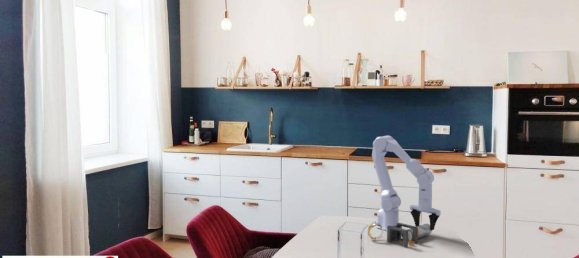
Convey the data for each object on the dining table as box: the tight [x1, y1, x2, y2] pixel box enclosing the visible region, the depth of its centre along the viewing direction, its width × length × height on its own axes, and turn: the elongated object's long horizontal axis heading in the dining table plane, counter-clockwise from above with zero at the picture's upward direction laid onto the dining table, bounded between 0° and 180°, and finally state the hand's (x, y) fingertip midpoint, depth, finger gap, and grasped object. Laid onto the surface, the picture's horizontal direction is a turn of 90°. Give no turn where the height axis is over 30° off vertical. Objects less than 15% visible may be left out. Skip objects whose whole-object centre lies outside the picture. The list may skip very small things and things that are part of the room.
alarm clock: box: [367, 221, 384, 241], centre depth 208 cm, size 7×3×8 cm, turn 91°
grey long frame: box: [402, 223, 433, 243], centre depth 211 cm, size 16×5×5 cm, turn 132°
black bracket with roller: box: [386, 222, 419, 248], centre depth 204 cm, size 10×8×7 cm
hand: (424, 228), depth 215 cm, fingers open, 7 cm apart
